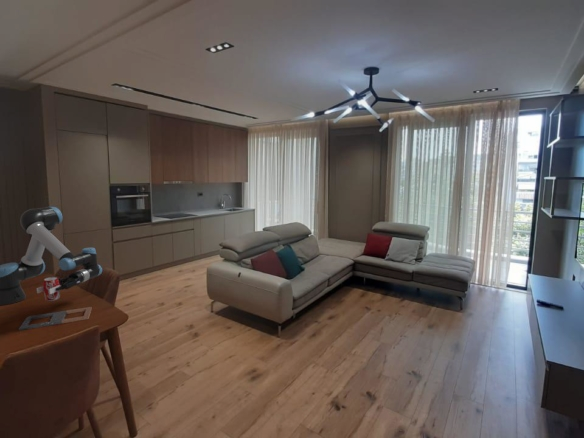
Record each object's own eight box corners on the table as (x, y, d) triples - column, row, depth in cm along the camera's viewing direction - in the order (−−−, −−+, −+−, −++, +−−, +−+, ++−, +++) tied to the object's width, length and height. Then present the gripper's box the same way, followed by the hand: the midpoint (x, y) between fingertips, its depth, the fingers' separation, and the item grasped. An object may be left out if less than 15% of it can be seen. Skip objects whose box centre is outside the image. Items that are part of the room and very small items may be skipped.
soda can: (43, 302, 173) (41, 281, 171) (46, 298, 179) (44, 277, 177) (59, 300, 176) (57, 279, 174) (62, 295, 182) (59, 275, 180)
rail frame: (27, 318, 181) (27, 316, 180) (91, 308, 194) (91, 306, 194) (19, 330, 167) (18, 328, 167) (88, 319, 181) (88, 317, 180)
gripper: (93, 284, 193) (59, 299, 170) (65, 281, 196) (28, 296, 174) (92, 272, 191) (58, 285, 169) (64, 270, 195) (27, 283, 173)
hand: (43, 291), depth 171 cm, fingers closed on soda can, 7 cm apart
